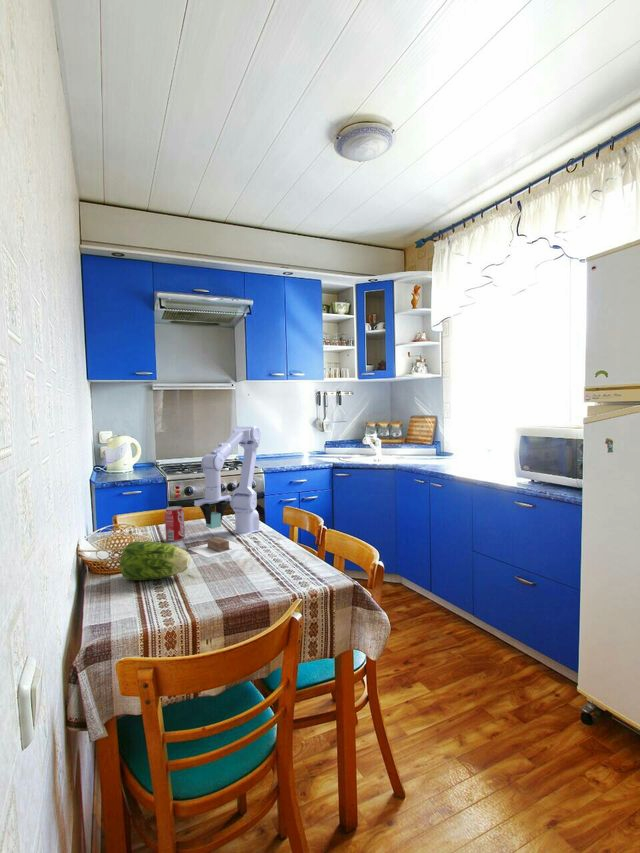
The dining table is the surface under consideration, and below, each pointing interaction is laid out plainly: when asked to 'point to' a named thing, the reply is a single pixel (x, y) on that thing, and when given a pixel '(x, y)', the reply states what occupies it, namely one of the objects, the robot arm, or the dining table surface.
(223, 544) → the base brick
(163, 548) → the lettuce
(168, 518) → the soda can
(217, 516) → the teal block
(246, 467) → the robot arm
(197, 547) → the plate
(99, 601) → the dining table surface
